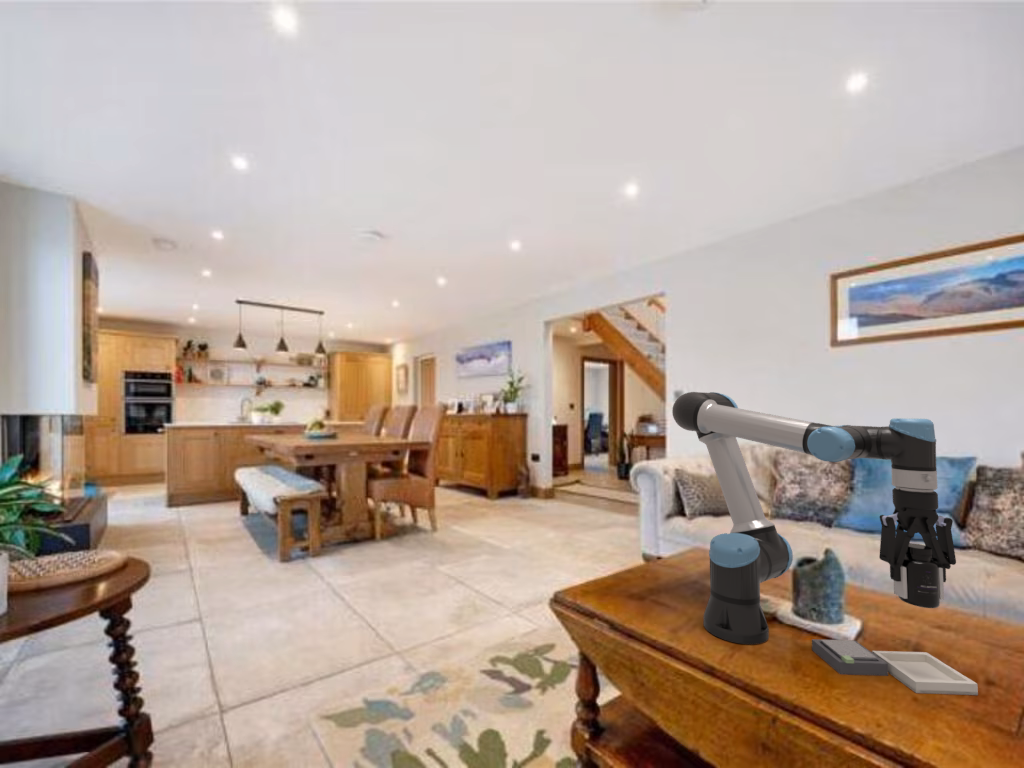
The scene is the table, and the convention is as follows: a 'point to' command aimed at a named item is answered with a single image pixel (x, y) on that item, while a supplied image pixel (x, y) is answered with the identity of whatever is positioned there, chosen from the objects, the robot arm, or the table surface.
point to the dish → (926, 673)
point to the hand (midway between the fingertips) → (918, 596)
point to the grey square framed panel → (850, 662)
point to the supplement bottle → (921, 577)
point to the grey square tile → (848, 649)
